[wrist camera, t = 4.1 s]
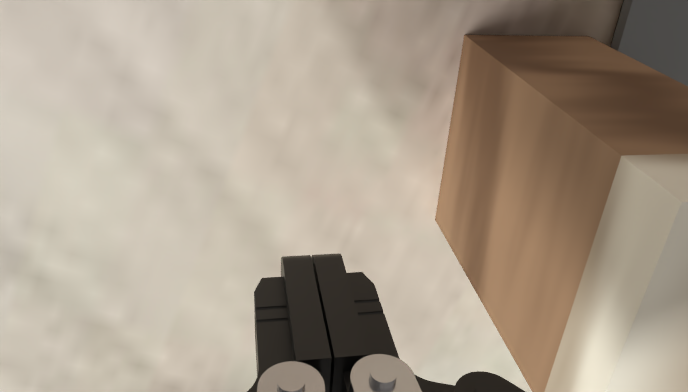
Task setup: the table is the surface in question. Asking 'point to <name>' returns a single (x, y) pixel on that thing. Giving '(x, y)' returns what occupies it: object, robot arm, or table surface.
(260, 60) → the table surface
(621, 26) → the mat
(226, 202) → the table surface
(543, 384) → the brown and cream block
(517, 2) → the table surface
